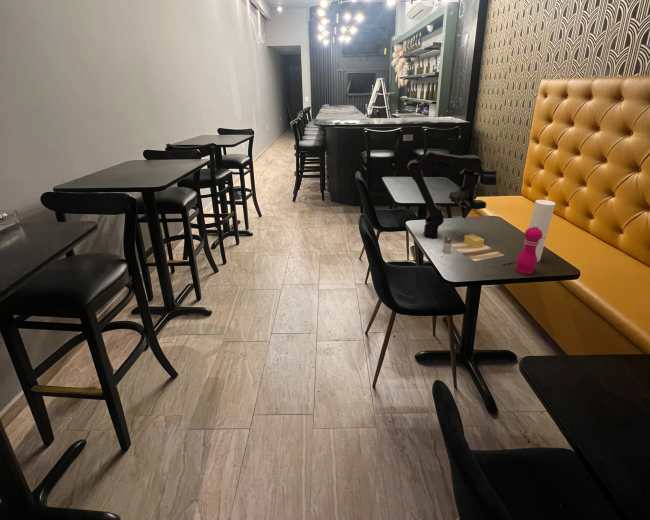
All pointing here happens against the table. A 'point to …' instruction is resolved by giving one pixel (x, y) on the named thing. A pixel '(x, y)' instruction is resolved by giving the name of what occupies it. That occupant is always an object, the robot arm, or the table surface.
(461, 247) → the board
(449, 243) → the bronze metal canister
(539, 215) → the cylindrical container
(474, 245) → the mustard yellow box
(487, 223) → the table surface
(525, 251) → the pink bowling pin
